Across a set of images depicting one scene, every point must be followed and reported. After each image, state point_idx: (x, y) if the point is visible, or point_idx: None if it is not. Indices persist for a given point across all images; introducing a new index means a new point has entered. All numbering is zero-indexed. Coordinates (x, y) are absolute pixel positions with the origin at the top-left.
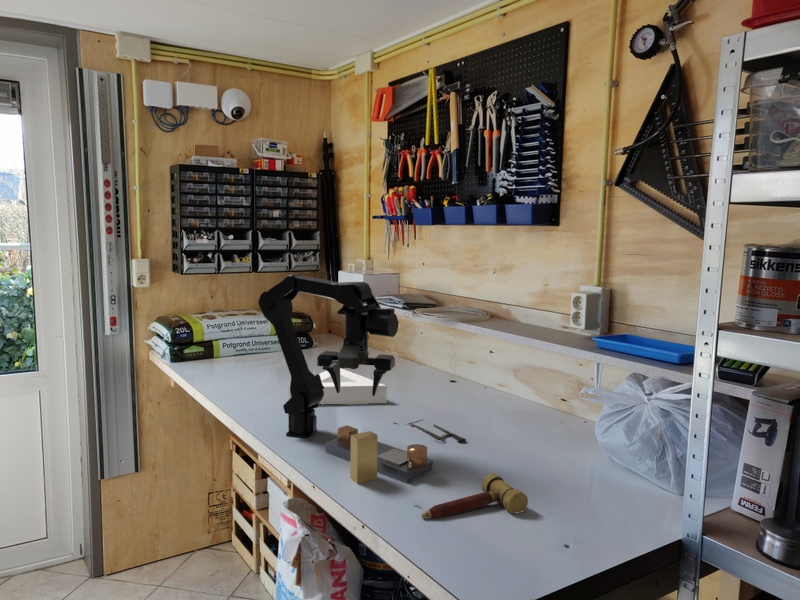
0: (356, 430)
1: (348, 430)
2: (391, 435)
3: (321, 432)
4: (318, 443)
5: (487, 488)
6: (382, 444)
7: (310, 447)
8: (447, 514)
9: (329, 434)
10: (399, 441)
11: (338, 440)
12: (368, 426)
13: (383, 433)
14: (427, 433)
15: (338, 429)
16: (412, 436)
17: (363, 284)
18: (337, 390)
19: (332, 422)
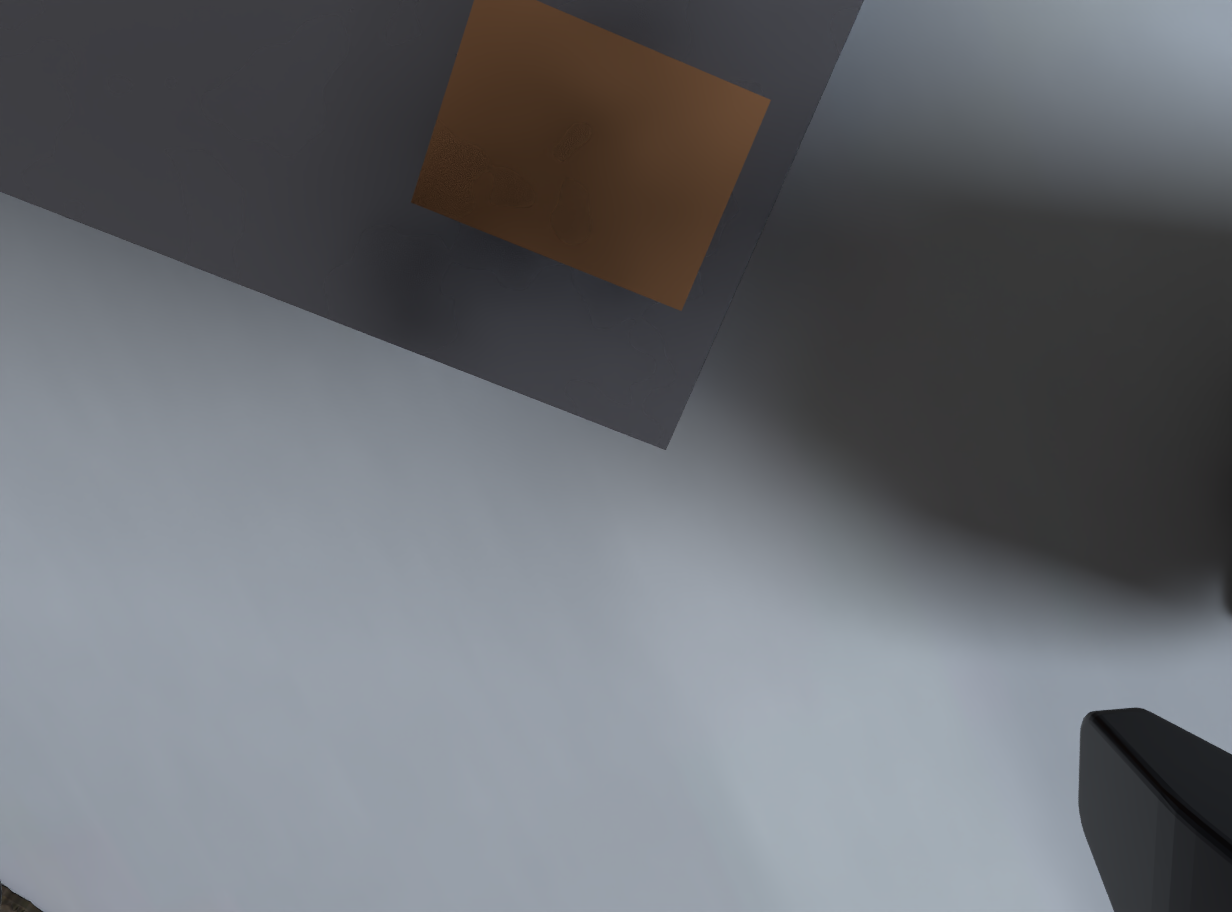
0: (426, 164)
1: (532, 57)
2: (337, 750)
3: (1167, 577)
4: (1081, 213)
5: None
6: (68, 179)
7: (1144, 27)
8: None
9: (1043, 550)
10: (172, 622)
11: (732, 76)
12: (688, 904)
13: (445, 775)
14: (20, 901)
15: (753, 94)
16: (122, 793)
17: None
18: (1161, 746)
19: None
